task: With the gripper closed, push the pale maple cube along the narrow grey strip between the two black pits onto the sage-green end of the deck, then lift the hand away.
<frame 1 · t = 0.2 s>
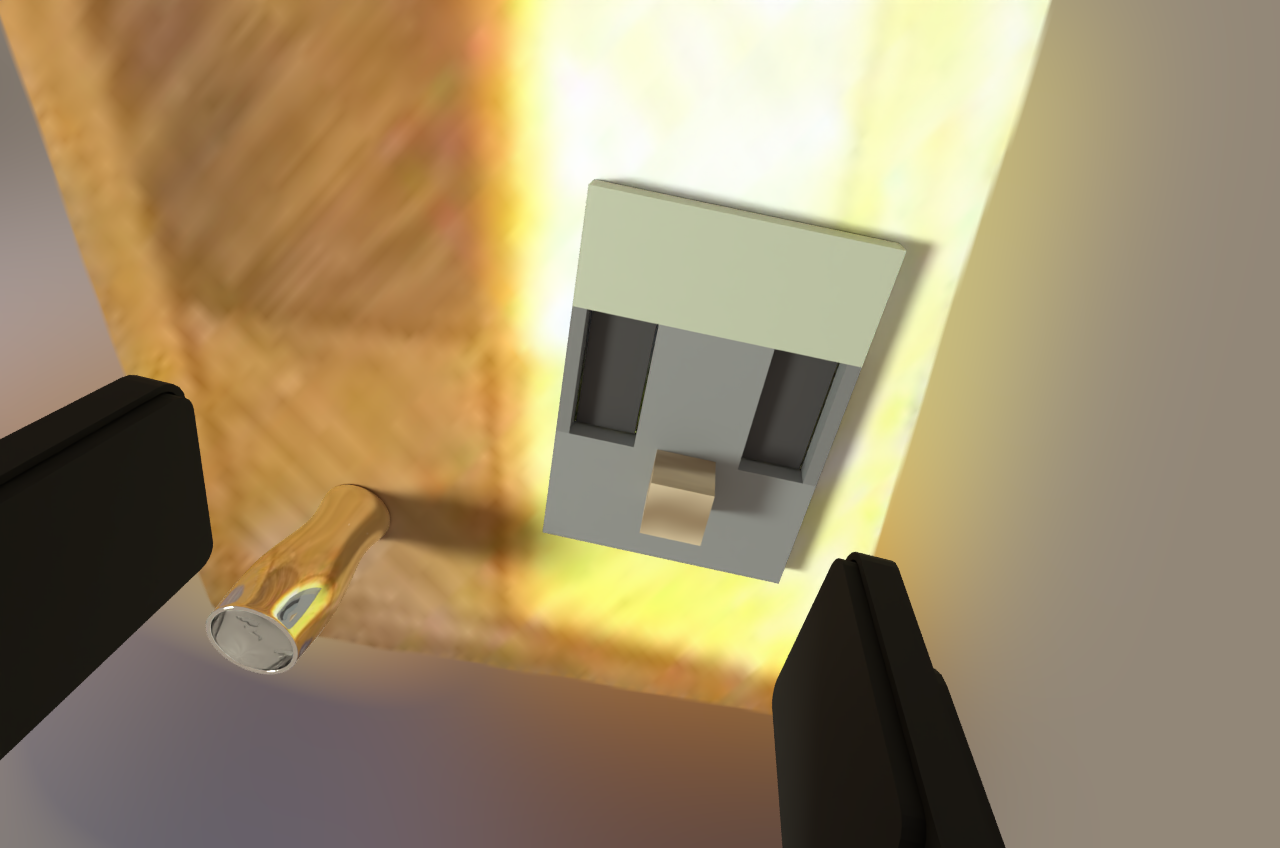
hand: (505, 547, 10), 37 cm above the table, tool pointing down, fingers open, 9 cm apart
maple cube: (680, 479, 50), point 2 cm above the table, touching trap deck
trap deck: (698, 400, 49), on the table
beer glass: (358, 510, 58), on the table
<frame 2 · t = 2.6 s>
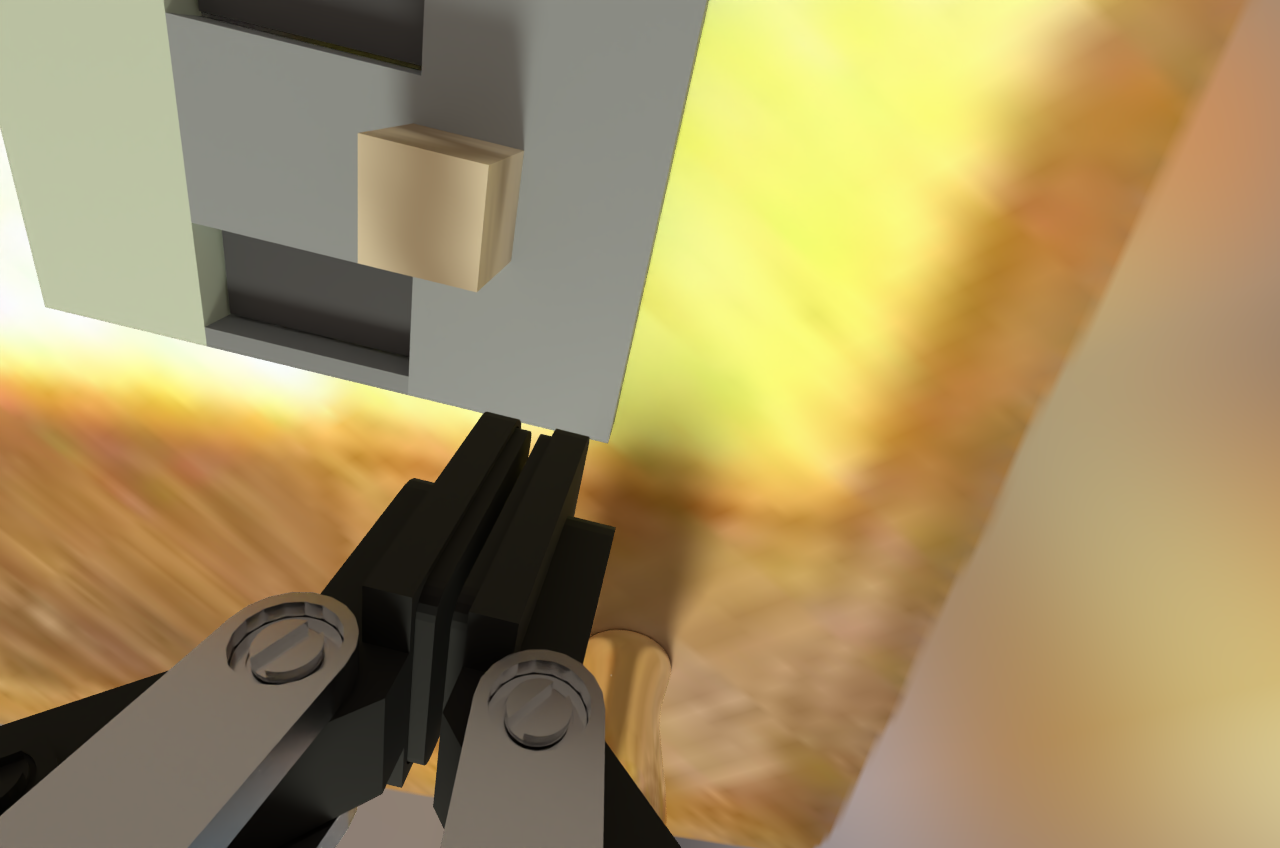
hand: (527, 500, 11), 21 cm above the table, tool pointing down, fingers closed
maple cube: (464, 195, 27), point 2 cm above the table, touching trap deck
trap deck: (346, 154, 29), on the table
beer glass: (624, 660, 42), on the table
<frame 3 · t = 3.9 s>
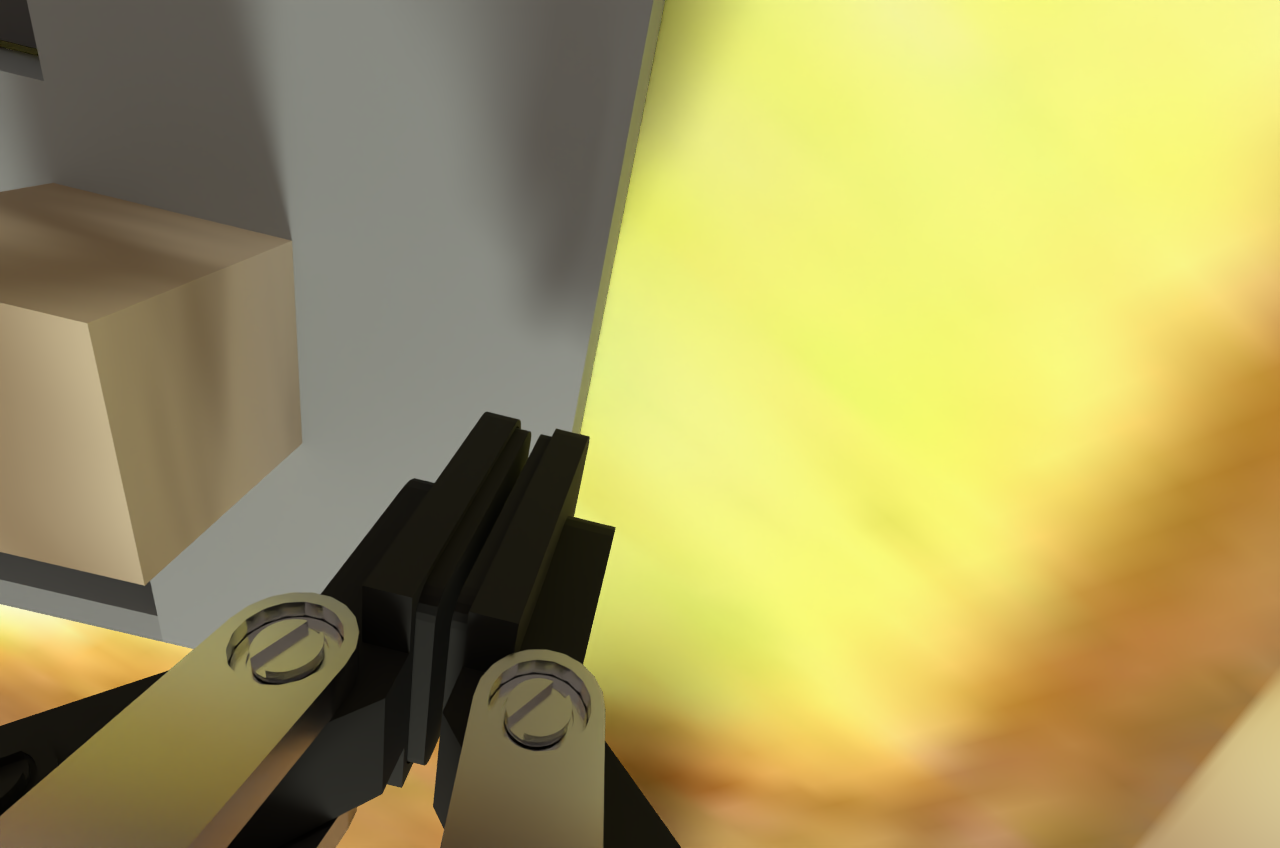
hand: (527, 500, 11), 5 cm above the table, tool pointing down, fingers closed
maple cube: (188, 324, 13), point 2 cm above the table, touching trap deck
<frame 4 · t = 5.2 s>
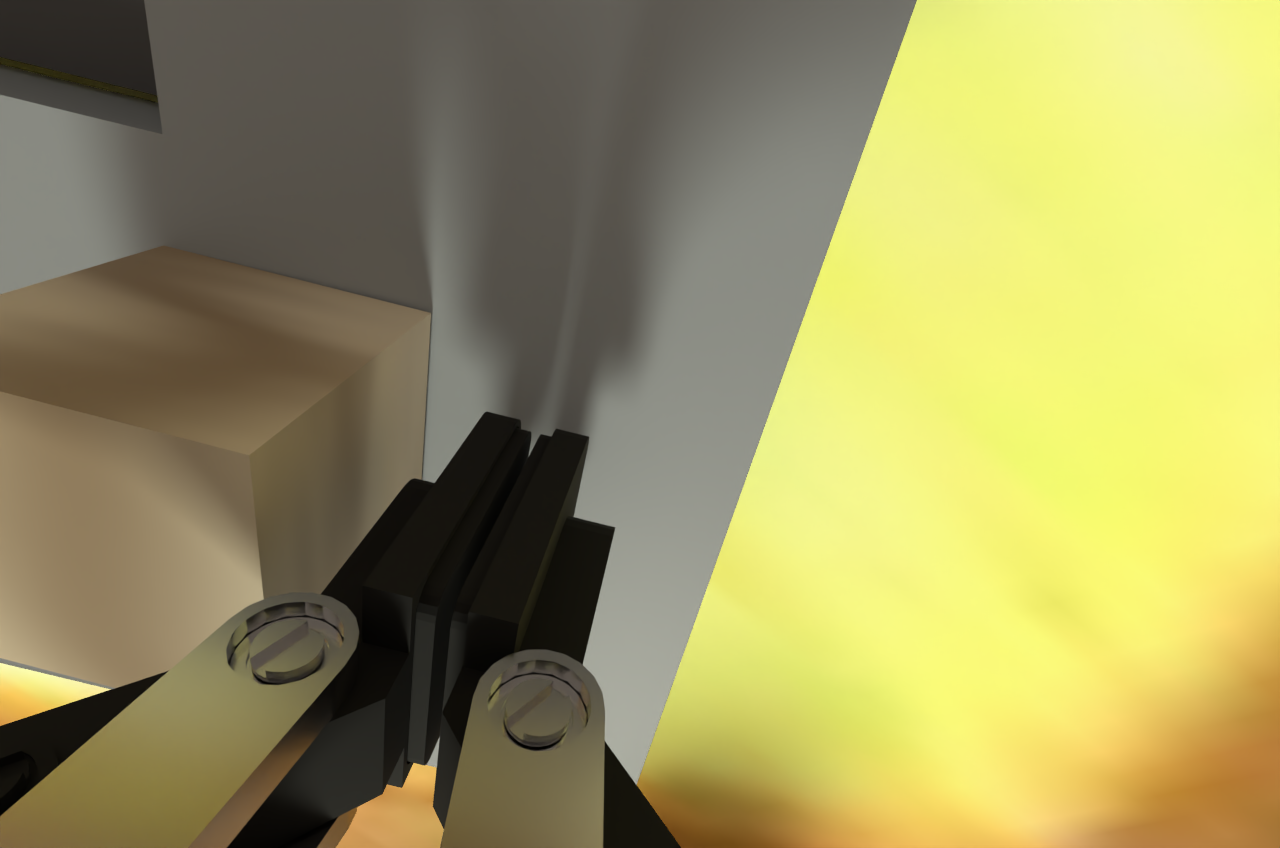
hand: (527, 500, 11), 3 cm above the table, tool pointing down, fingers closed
maple cube: (302, 399, 12), point 2 cm above the table, touching gripper, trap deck
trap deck: (74, 286, 13), on the table
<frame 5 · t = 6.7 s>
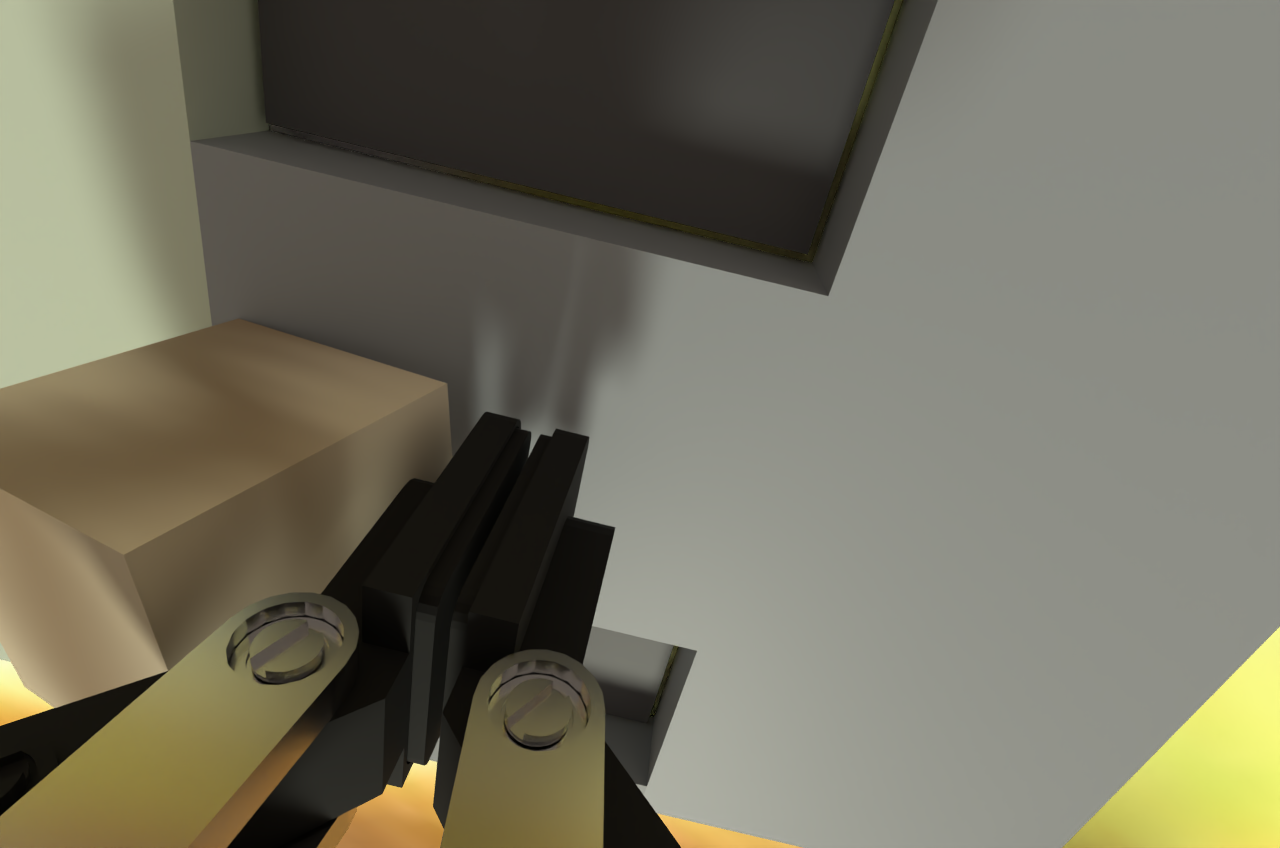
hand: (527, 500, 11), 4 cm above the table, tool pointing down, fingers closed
maple cube: (353, 466, 12), point 3 cm above the table, tilted 19°, touching gripper
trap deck: (562, 402, 14), on the table
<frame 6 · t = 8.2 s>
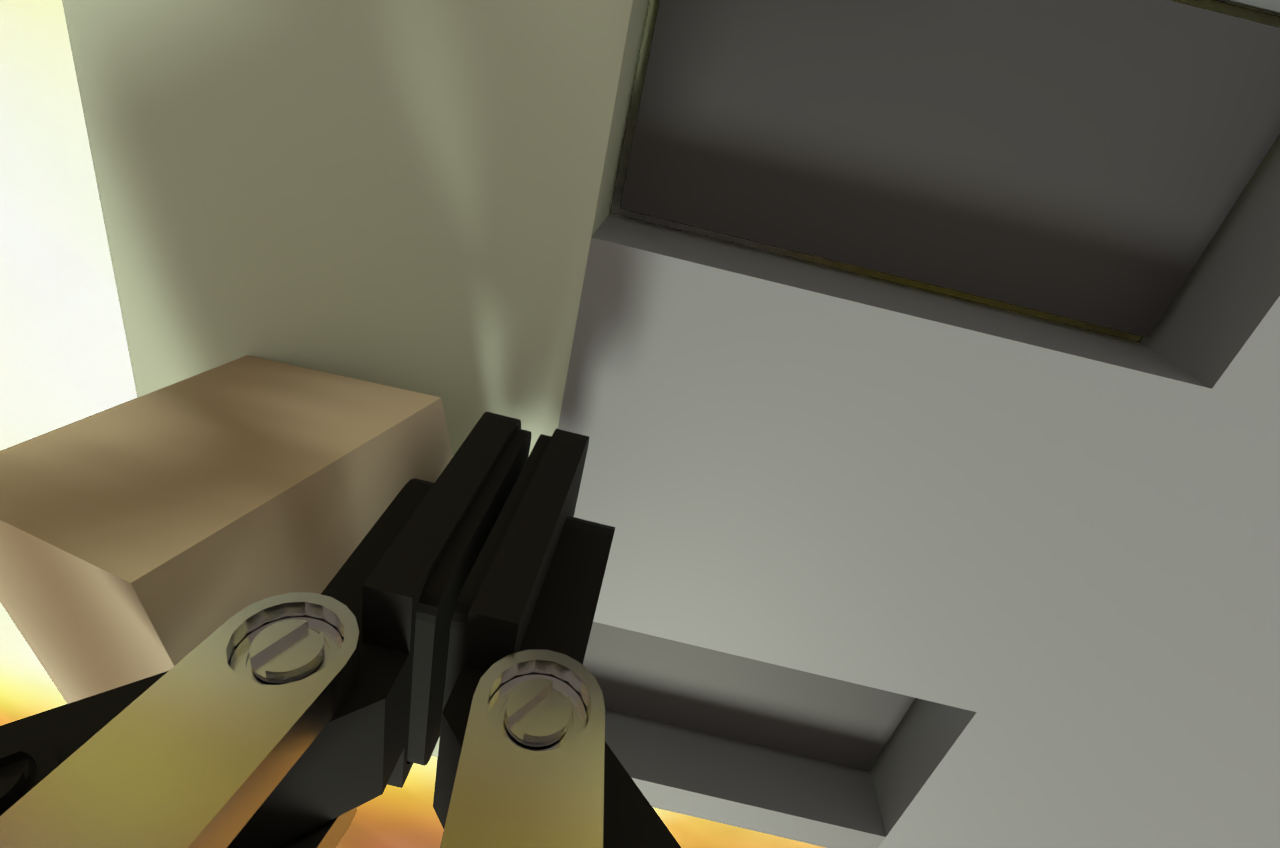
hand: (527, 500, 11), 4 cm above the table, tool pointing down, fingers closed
maple cube: (367, 487, 12), point 3 cm above the table, tilted 20°, touching gripper, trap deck
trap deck: (848, 469, 14), on the table
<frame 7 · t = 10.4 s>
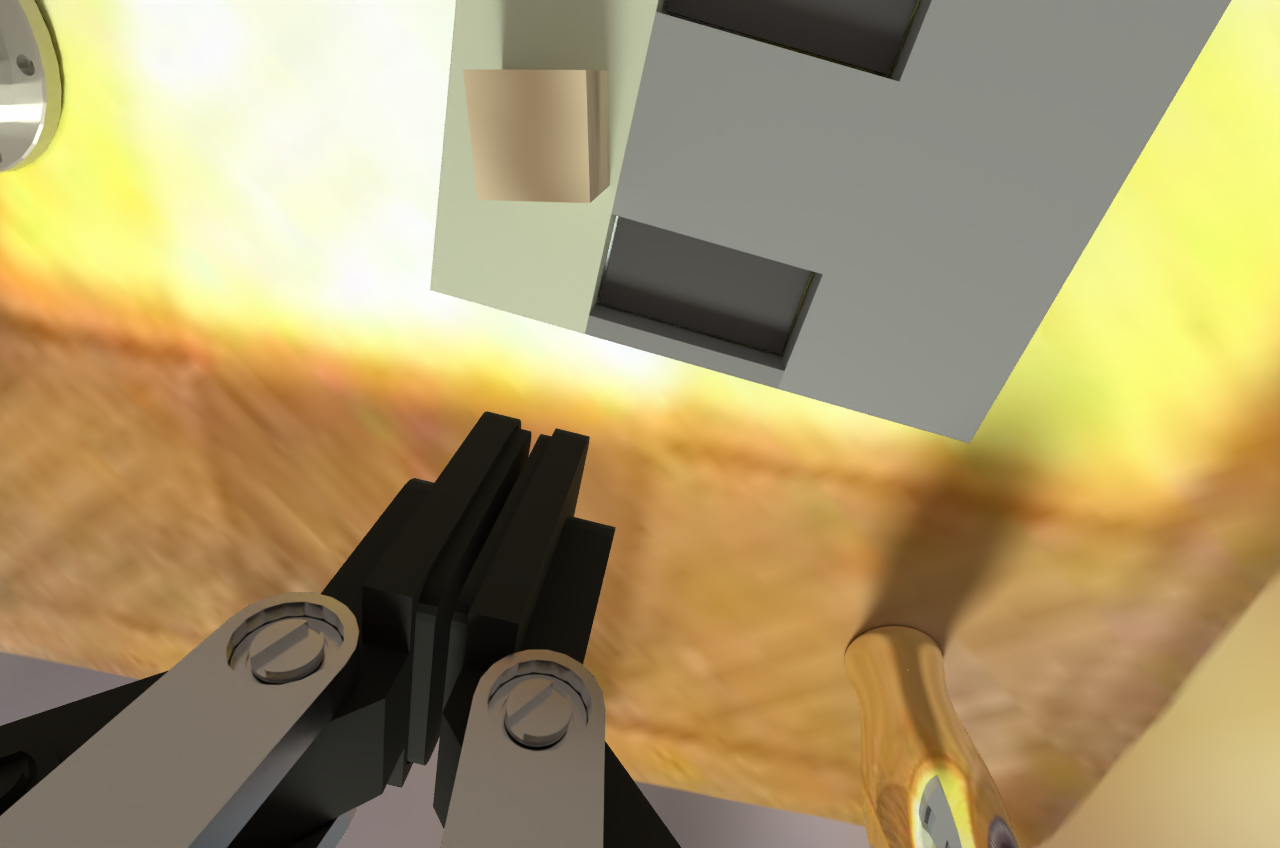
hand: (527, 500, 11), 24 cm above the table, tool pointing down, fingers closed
maple cube: (557, 129, 28), point 2 cm above the table, touching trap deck
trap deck: (766, 153, 29), on the table
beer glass: (891, 656, 43), on the table
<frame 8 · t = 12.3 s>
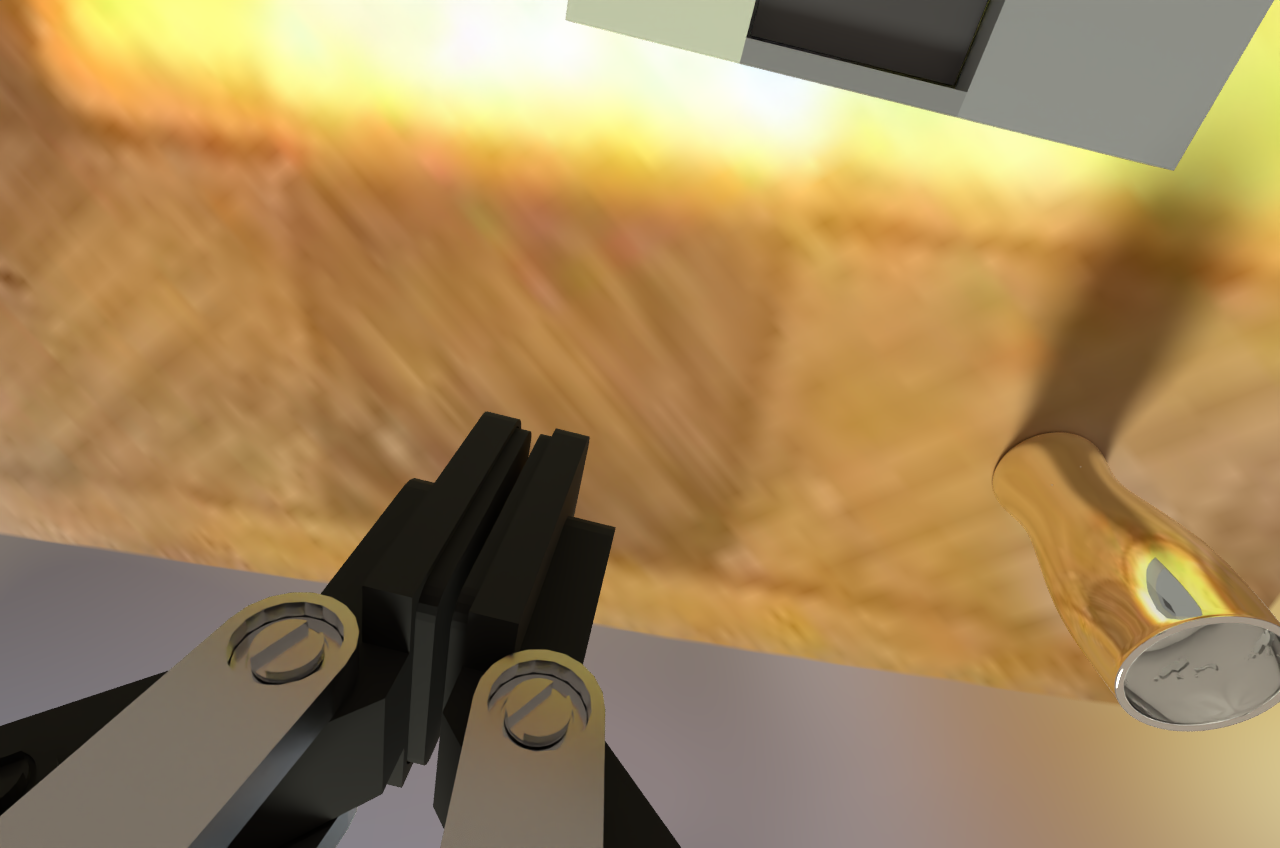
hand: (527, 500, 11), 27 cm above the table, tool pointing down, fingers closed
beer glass: (1044, 473, 39), on the table
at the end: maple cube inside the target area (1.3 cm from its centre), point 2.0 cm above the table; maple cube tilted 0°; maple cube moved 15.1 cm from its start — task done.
